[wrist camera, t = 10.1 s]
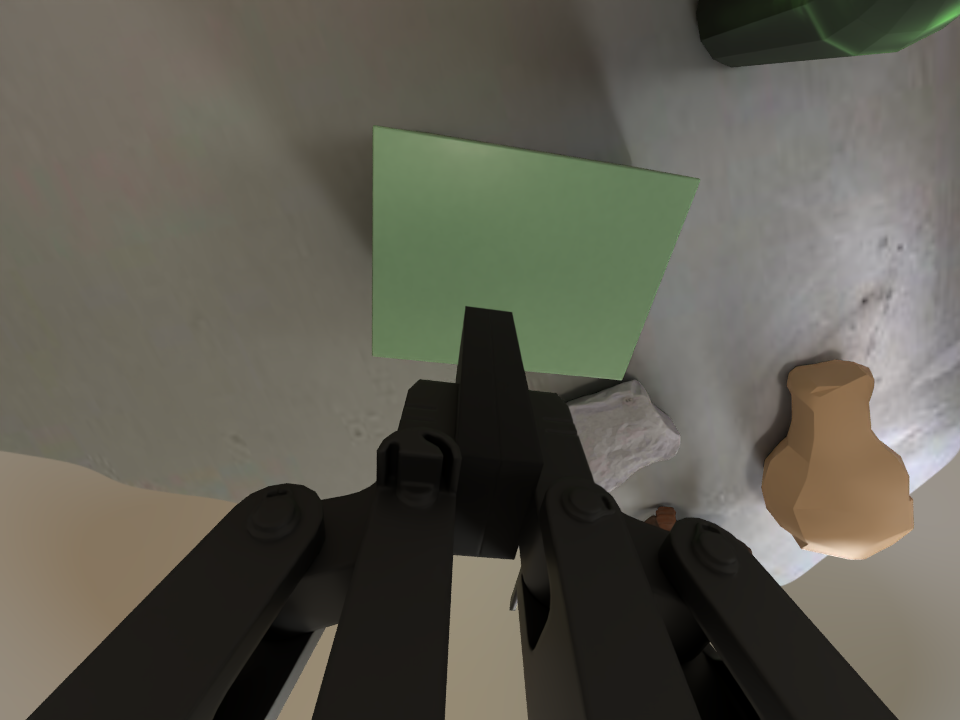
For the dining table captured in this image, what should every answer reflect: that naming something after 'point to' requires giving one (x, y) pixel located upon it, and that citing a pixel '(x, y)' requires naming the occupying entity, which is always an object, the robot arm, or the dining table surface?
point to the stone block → (622, 432)
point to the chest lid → (517, 250)
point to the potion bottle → (815, 28)
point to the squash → (836, 467)
